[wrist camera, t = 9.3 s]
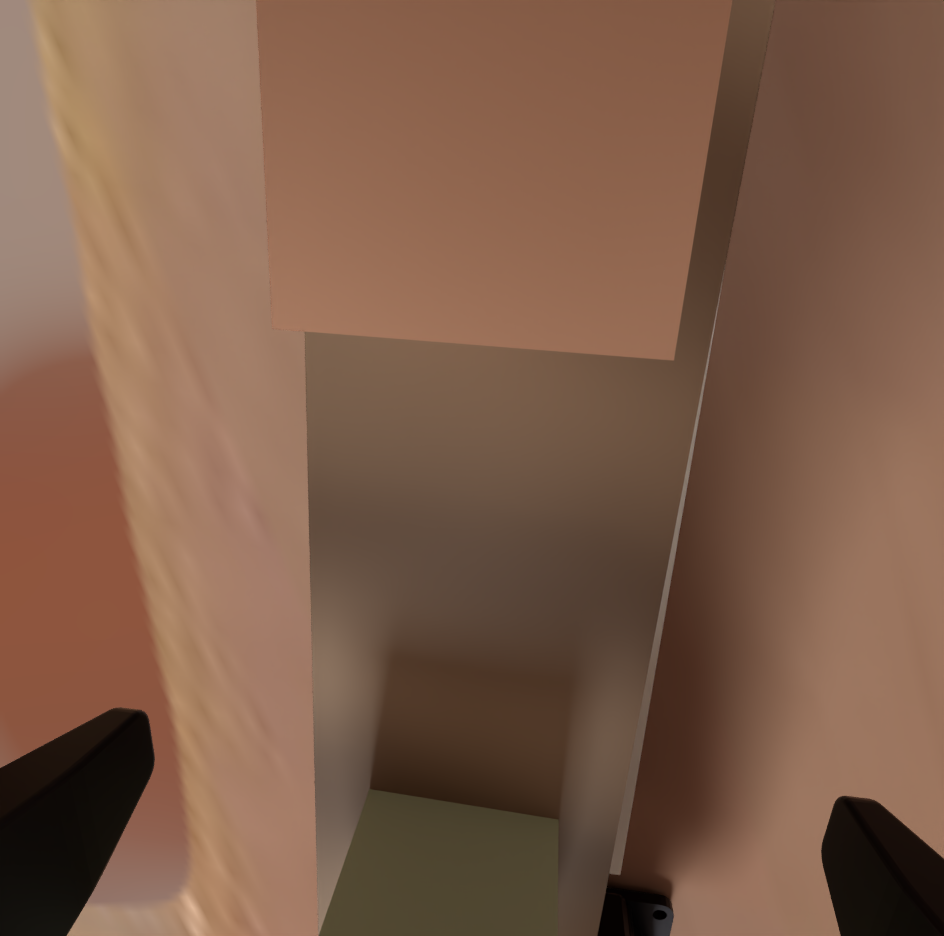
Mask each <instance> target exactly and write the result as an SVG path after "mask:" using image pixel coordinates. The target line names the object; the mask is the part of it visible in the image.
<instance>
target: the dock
mask: <svg viewBox="0 0 944 936" xmlns="http://www.w3.org/2000/svg"><path fill="white" fill-rule="evenodd" d="M725 264H726V263H725ZM724 270H725V269H724ZM723 276H724V274H723ZM722 282H723V279H722ZM721 288H722V284H721ZM720 293H721V290H720ZM719 299H720V295H719ZM718 305H719V300H718ZM718 305H717V311H718ZM717 311H716V316H715V321H714V326H713V332H712V337H711V342H710V347H709V353H708V358H707V363H706V368H705V374H704V379H703V384H702V389H701V395H700V400H699V405H698V410H697V416H696V421H695V426H694V431H693V437H692V442H691V447H690V452H689V458H688V463H687V468H686V473H685V479H684V484H683V489H682V494H681V500H680V505H679V510H678V515H677V521H676V526H675V531H674V536H673V541H672V547H671V552H670V557H669V562H668V568H667V573H666V578H665V583H664V589H663V594H662V599H661V604H660V610H659V615H658V620H657V625H656V631H655V636H654V641H653V646H652V652H651V657H650V662H649V667H648V673H647V678H646V683H645V688H644V694H643V699H642V704H641V709H640V715H639V720H638V725H637V730H636V736H635V741H634V746H633V751H632V757H631V762H630V767H629V772H628V778H627V783H626V788H625V793H624V798H623V804H622V809H621V814H620V819H619V825H618V830H617V835H616V840H615V846H614V851H613V856H612V861H611V867H610V872H609V874H616V875H620V874H621V868H622V863H623V857H624V851H625V845H626V839H627V833H628V828H629V822H630V816H631V810H632V804H633V799H634V793H635V787H636V781H637V775H638V770H639V764H640V758H641V752H642V746H643V741H644V735H645V729H646V723H647V717H648V712H649V706H650V700H651V694H652V688H653V682H654V677H655V671H656V665H657V659H658V653H659V648H660V642H661V636H662V630H663V624H664V619H665V613H666V607H667V601H668V595H669V590H670V584H671V578H672V572H673V566H674V560H675V555H676V549H677V543H678V537H679V531H680V526H681V520H682V514H683V508H684V502H685V497H686V491H687V485H688V479H689V473H690V468H691V462H692V456H693V450H694V444H695V439H696V433H697V427H698V421H699V415H700V409H701V404H702V398H703V392H704V386H705V380H706V375H707V369H708V363H709V357H710V351H711V346H712V340H713V334H714V328H715V322H716V317H717Z"/></svg>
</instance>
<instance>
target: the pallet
mask: <svg viewBox="0 0 944 936" xmlns="http://www.w3.org/2000/svg"><path fill="white" fill-rule="evenodd" d="M775 1H776V0H732V6H731V12H730V19H729V25H728V31H727V37H726V43H725V49H724V55H723V62H722V68H721V74H720V80H719V86H718V92H717V98H716V105H715V111H714V117H713V123H712V129H711V135H710V141H709V148H708V154H707V160H706V166H705V172H704V178H703V184H702V191H701V197H700V203H699V209H698V215H697V221H696V227H695V234H694V240H693V246H692V252H691V258H690V264H689V270H688V277H687V283H686V289H685V295H684V301H683V307H682V313H681V320H680V326H679V332H678V338H677V344H676V350H675V356H674V361H673V360H660V359H647V358H635V357H622V356H609V355H596V354H584V353H571V352H558V351H546V350H533V349H520V348H507V347H495V346H482V345H469V344H456V343H444V342H431V341H418V340H406V339H393V338H380V337H367V336H355V335H342V334H329V333H317V332H305V367H306V412H307V456H308V500H309V544H310V588H311V632H312V676H313V720H314V765H315V809H316V853H317V897H318V936H319V933H320V930H321V927H322V925H323V922H324V919H325V916H326V913H327V910H328V907H329V904H330V901H331V899H332V896H333V893H334V890H335V887H336V884H337V881H338V878H339V875H340V873H341V870H342V867H343V864H344V861H345V858H346V855H347V852H348V849H349V847H350V844H351V841H352V838H353V835H354V832H355V829H356V826H357V824H358V821H359V818H360V815H361V812H362V809H363V806H364V803H365V800H366V798H367V795H368V792H369V789H372V790H378V791H385V792H391V793H397V794H403V795H409V796H415V797H422V798H428V799H434V800H440V801H446V802H453V803H459V804H465V805H471V806H477V807H483V808H490V809H496V810H502V811H508V812H514V813H521V814H527V815H533V816H539V817H545V818H552V819H558V820H559V832H558V936H597V935H598V930H599V924H600V919H601V914H602V909H603V903H604V898H605V893H606V888H607V882H608V877H609V872H610V867H611V861H612V856H613V851H614V846H615V840H616V835H617V830H618V825H619V819H620V814H621V809H622V804H623V798H624V793H625V788H626V783H627V778H628V772H629V767H630V762H631V757H632V751H633V746H634V741H635V736H636V730H637V725H638V720H639V715H640V709H641V704H642V699H643V694H644V688H645V683H646V678H647V673H648V667H649V662H650V657H651V652H652V646H653V641H654V636H655V631H656V625H657V620H658V615H659V610H660V604H661V599H662V594H663V589H664V583H665V578H666V573H667V568H668V562H669V557H670V552H671V547H672V541H673V536H674V531H675V526H676V521H677V515H678V510H679V505H680V500H681V494H682V489H683V484H684V479H685V473H686V468H687V463H688V458H689V452H690V447H691V442H692V437H693V431H694V426H695V421H696V416H697V410H698V405H699V400H700V395H701V389H702V384H703V379H704V374H705V368H706V363H707V358H708V353H709V347H710V342H711V337H712V332H713V326H714V321H715V316H716V311H717V305H718V300H719V295H720V290H721V284H722V279H723V274H724V269H725V263H726V258H727V253H728V248H729V243H730V237H731V232H732V227H733V222H734V216H735V211H736V206H737V201H738V195H739V190H740V185H741V180H742V174H743V169H744V164H745V159H746V153H747V148H748V143H749V138H750V132H751V127H752V122H753V117H754V111H755V106H756V101H757V96H758V90H759V85H760V80H761V75H762V69H763V64H764V59H765V54H766V48H767V43H768V38H769V33H770V27H771V22H772V17H773V12H774V6H775Z"/></svg>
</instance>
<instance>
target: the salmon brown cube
mask: <svg viewBox="0 0 944 936" xmlns="http://www.w3.org/2000/svg"><path fill="white" fill-rule="evenodd" d="M731 6H732V0H256V7H257V28H258V48H259V68H260V89H261V109H262V130H263V150H264V171H265V191H266V212H267V232H268V252H269V273H270V293H271V314H272V329H278V330H291V331H304V332H317V333H329V334H342V335H355V336H367V337H380V338H393V339H406V340H418V341H431V342H444V343H456V344H469V345H482V346H495V347H507V348H520V349H533V350H546V351H558V352H571V353H584V354H596V355H609V356H622V357H635V358H647V359H660V360H673V361H674V356H675V350H676V344H677V338H678V332H679V326H680V320H681V313H682V307H683V301H684V295H685V289H686V283H687V277H688V270H689V264H690V258H691V252H692V246H693V240H694V234H695V227H696V221H697V215H698V209H699V203H700V197H701V191H702V184H703V178H704V172H705V166H706V160H707V154H708V148H709V141H710V135H711V129H712V123H713V117H714V111H715V105H716V98H717V92H718V86H719V80H720V74H721V68H722V62H723V55H724V49H725V43H726V37H727V31H728V25H729V19H730V12H731Z"/></svg>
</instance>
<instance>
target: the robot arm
mask: <svg viewBox="0 0 944 936" xmlns="http://www.w3.org/2000/svg"><path fill="white" fill-rule="evenodd" d="M154 760H155V757H154V749H153V743H152V736H151V730H150V724H149V718H148V716H147V714H146V713H145V712H144V711H142V710H136V709H129V708H113V709H111V710H109V711H107V712H105V713H103V714H101V715H99V716H97V717H96V718H94V719H92V720H90V721H88V722H86V723H84V724H82V725H80V726H79V727H77V728H75V729H73V730H71V731H69V732H67V733H65V734H64V735H62V736H60V737H58V738H56V739H54V740H53V741H50V742H49V743H47V744H45V745H43V746H41V747H39V748H37V749H35V750H33V751H32V752H30V753H28V754H26V755H24V756H22V757H20V758H19V759H17V760H15V761H13V762H11V763H9V764H7V765H5V766H3V767H1V768H0V936H67V934H68V932H69V931H70V929H71V927H72V926H73V924H74V923H75V921H76V919H77V918H78V916H79V914H80V913H81V911H82V909H83V908H84V906H85V904H86V903H87V901H88V899H89V897H90V896H91V894H92V892H93V891H94V889H95V887H96V885H97V883H98V881H99V879H100V877H101V876H102V874H103V872H104V870H105V868H106V866H107V864H108V862H109V860H110V858H111V856H112V854H113V852H114V850H115V848H116V845H117V843H118V841H119V839H120V837H121V835H122V833H123V831H124V829H125V827H126V825H127V823H128V821H129V819H130V817H131V815H132V813H133V811H134V809H135V807H136V805H137V803H138V801H139V799H140V797H141V795H142V793H143V791H144V789H145V787H146V785H147V783H148V781H149V779H150V777H151V774H152V771H153V768H154ZM821 853H822V863H823V868H824V872H825V876H826V880H827V884H828V887H829V891H830V895H831V899H832V903H833V907H834V911H835V915H836V919H837V923H838V927H839V931H840V934H841V936H944V858H942V857H941V856H940V855H939V854H938V853H937V852H935V851H934V850H933V849H932V848H931V847H930V846H929V845H927V844H926V843H925V842H924V841H923V840H922V839H920V838H919V837H918V836H917V835H916V834H915V833H913V832H912V831H911V830H910V829H909V828H908V827H907V826H905V825H904V824H903V823H902V822H901V821H900V820H898V819H897V818H896V817H895V816H894V815H893V814H892V813H890V812H889V811H888V810H887V809H886V808H885V807H883V806H882V805H881V804H880V803H878V802H877V801H875V800H872V799H867V798H859V797H851V796H841V797H839V798H838V799H837V800H836V801H835V804H834V806H833V809H832V813H831V816H830V819H829V822H828V826H827V829H826V832H825V835H824V839H823V842H822V850H821ZM673 918H674V915H673V908H672V903H671V901H670V900H669V899H668V898H667V897H665V896H662V895H656V894H649V893H642V892H634V891H627V890H620V889H613V888H606V893H605V898H604V903H603V909H602V914H601V919H600V924H599V930H598V935H597V936H670V931H671V927H672V922H673Z"/></svg>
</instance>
